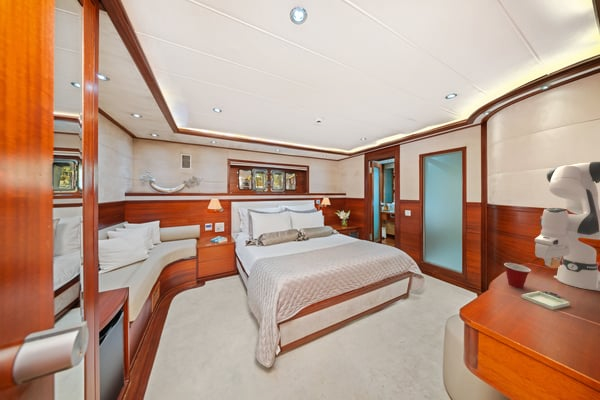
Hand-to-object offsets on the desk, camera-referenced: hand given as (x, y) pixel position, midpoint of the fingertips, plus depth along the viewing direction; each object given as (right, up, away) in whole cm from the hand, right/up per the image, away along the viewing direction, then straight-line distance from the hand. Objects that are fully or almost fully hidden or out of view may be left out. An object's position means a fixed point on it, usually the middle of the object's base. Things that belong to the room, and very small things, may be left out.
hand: (552, 264), depth 105 cm
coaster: (0, -17, +1) cm, 17 cm away
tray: (-10, -17, -5) cm, 20 cm away
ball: (0, -2, 0) cm, 2 cm away
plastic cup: (-6, -17, +12) cm, 21 cm away
